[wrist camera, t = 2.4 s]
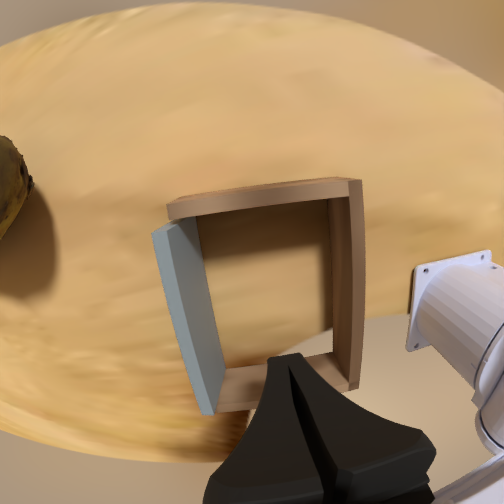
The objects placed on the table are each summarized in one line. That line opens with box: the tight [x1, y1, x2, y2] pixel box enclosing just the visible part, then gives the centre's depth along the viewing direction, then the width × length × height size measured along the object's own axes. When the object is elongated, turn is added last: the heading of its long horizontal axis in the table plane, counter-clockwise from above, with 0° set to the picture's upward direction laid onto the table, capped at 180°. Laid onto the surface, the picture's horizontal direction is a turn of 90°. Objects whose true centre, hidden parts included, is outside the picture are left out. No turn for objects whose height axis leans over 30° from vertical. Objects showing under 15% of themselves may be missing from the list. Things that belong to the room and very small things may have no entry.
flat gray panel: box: [151, 216, 226, 415], centre depth 17 cm, size 1×12×5 cm, turn 7°
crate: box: [166, 177, 365, 413], centre depth 18 cm, size 10×14×4 cm
